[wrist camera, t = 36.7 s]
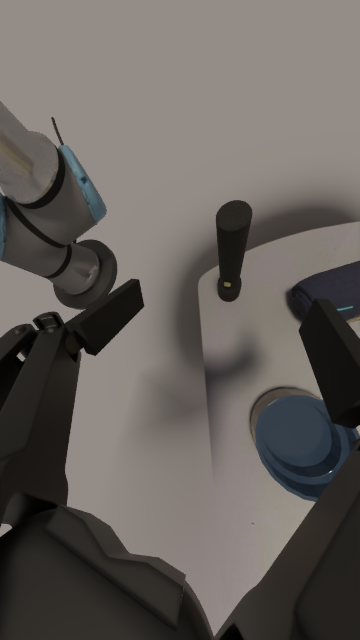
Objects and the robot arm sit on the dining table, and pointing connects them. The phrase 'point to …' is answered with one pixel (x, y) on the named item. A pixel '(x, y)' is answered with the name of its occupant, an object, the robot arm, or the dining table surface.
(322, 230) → the dining table surface
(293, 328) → the dining table surface
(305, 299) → the portable speaker
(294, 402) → the bowl
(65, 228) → the robot arm
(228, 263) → the flashlight
